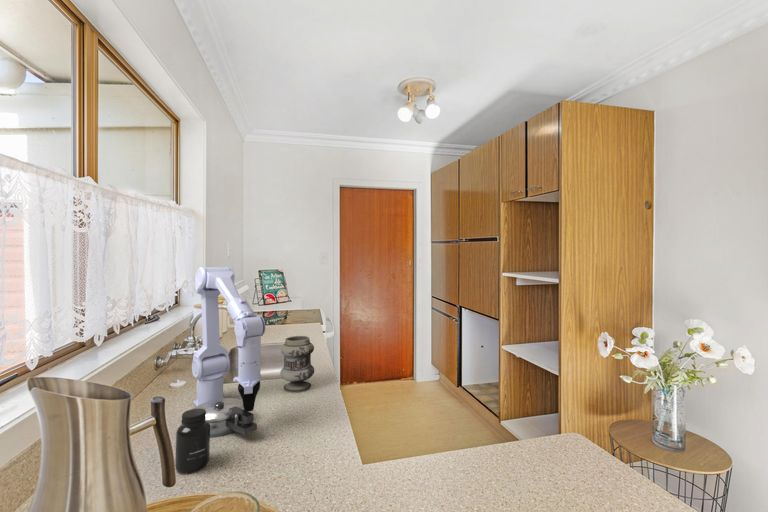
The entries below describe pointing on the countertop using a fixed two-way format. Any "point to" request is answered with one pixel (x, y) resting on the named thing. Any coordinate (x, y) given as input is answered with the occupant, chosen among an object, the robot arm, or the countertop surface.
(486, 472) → the countertop surface
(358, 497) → the countertop surface
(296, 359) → the apothecary jar
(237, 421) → the pot
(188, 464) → the supplement bottle
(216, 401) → the lid
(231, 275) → the robot arm
